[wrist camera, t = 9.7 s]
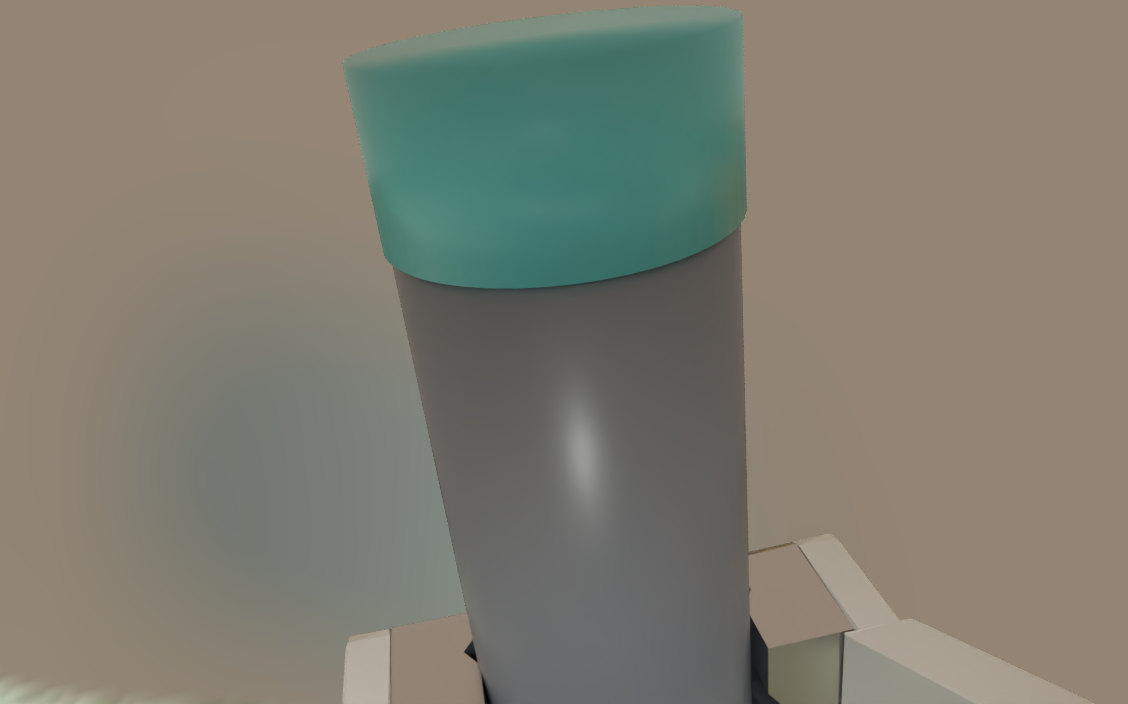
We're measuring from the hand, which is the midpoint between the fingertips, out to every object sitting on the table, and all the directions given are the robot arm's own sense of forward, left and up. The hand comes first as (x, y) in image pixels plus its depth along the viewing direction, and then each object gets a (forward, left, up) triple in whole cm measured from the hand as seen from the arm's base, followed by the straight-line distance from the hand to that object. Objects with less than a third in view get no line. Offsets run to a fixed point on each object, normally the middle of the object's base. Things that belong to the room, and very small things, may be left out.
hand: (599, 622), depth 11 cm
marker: (+1, -1, -7) cm, 7 cm away
